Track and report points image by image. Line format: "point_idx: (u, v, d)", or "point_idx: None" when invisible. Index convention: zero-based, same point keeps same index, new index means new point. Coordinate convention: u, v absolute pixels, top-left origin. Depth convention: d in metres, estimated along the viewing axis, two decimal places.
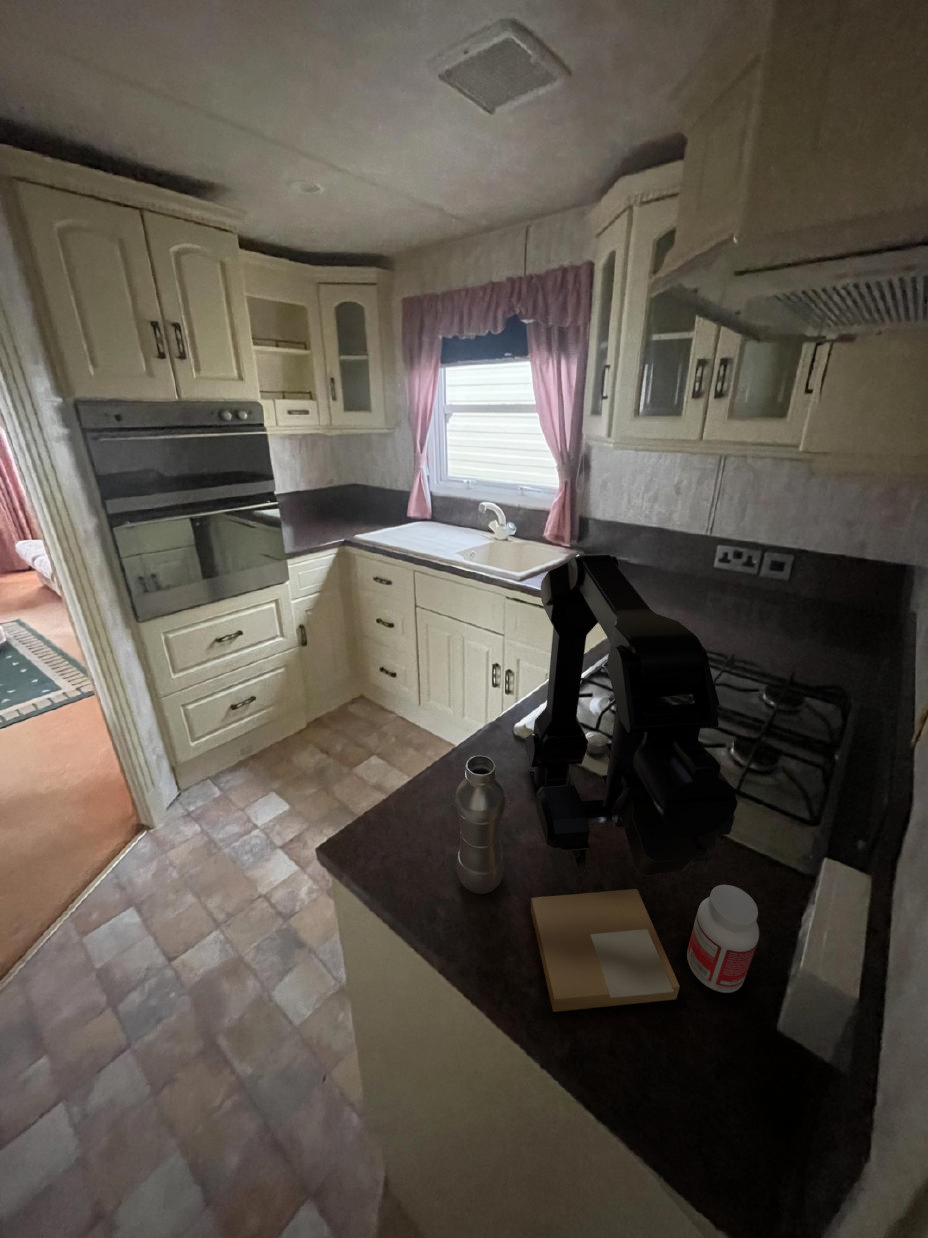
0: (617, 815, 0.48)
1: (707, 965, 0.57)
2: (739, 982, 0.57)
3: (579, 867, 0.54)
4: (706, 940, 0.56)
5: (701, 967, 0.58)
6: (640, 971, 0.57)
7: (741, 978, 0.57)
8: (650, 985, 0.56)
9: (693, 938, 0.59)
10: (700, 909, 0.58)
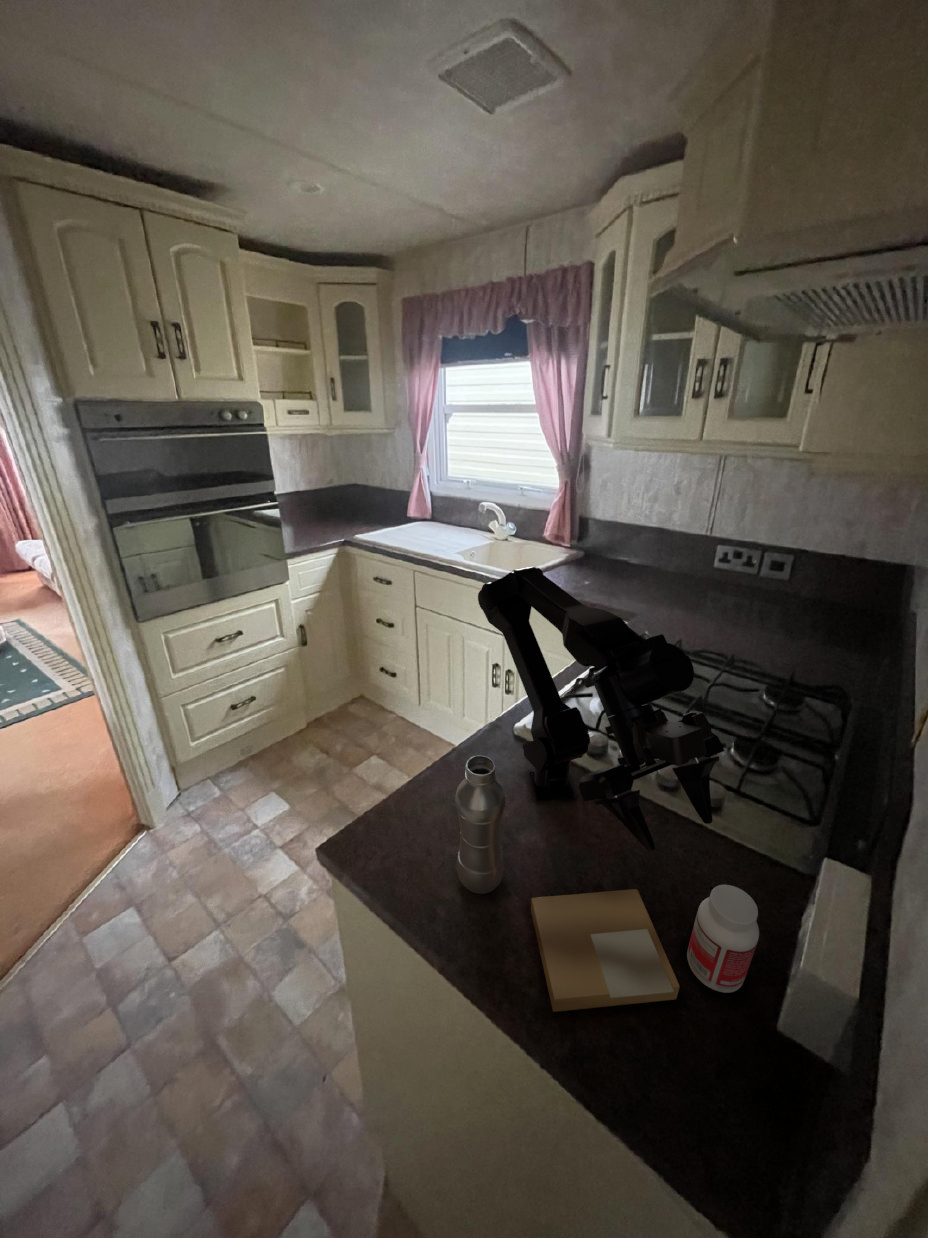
0: (640, 750, 0.60)
1: (707, 965, 0.57)
2: (739, 982, 0.57)
3: (647, 837, 0.59)
4: (706, 939, 0.56)
5: (701, 967, 0.58)
6: (640, 971, 0.57)
7: (741, 978, 0.57)
8: (650, 985, 0.56)
9: (693, 938, 0.59)
10: (700, 909, 0.58)
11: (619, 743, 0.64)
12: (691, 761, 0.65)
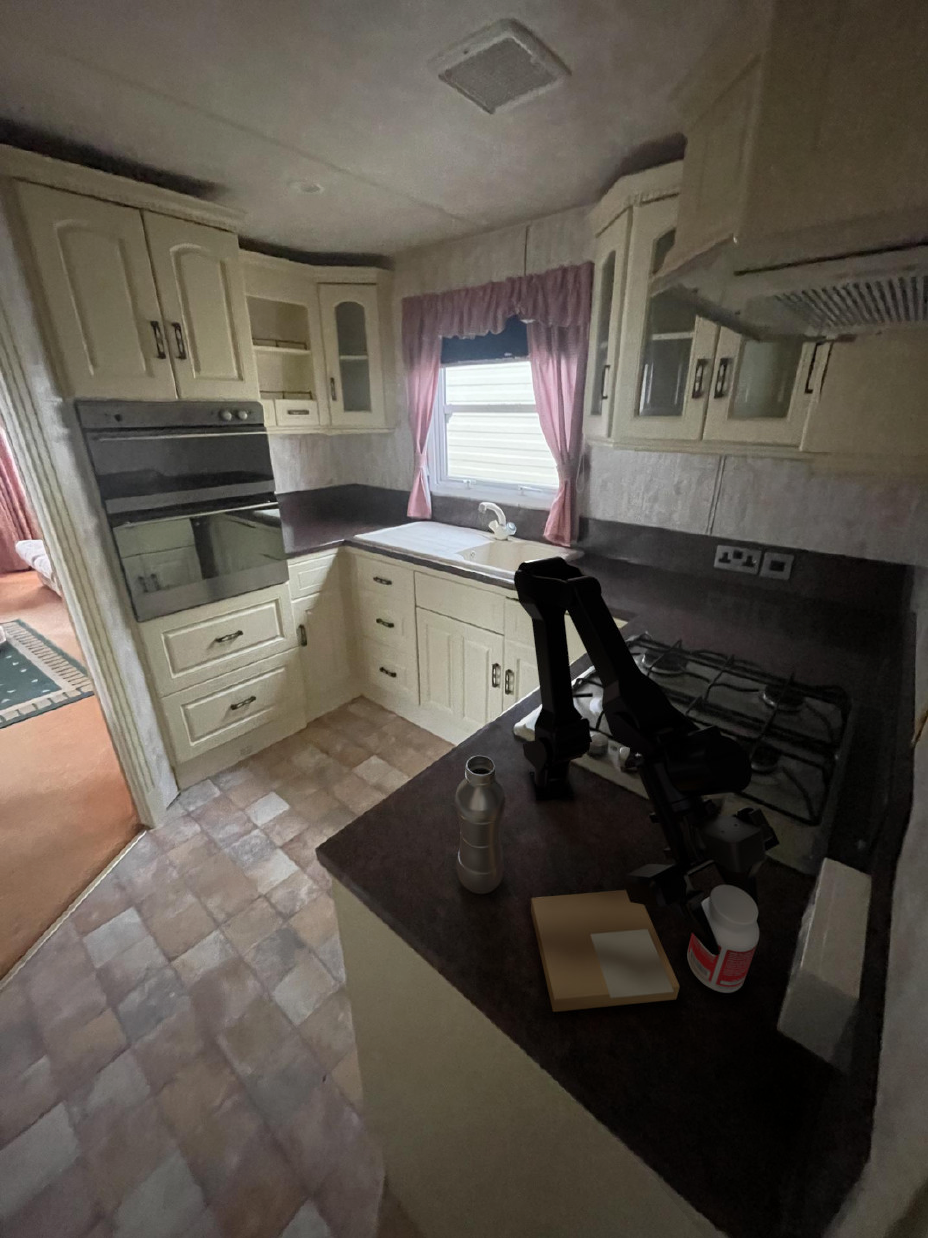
0: (692, 849, 0.56)
1: (708, 965, 0.57)
2: (739, 982, 0.57)
3: (711, 941, 0.55)
4: None
5: (701, 967, 0.58)
6: (640, 971, 0.57)
7: (741, 978, 0.57)
8: (650, 985, 0.56)
9: (693, 938, 0.59)
10: None
11: (666, 836, 0.59)
12: None
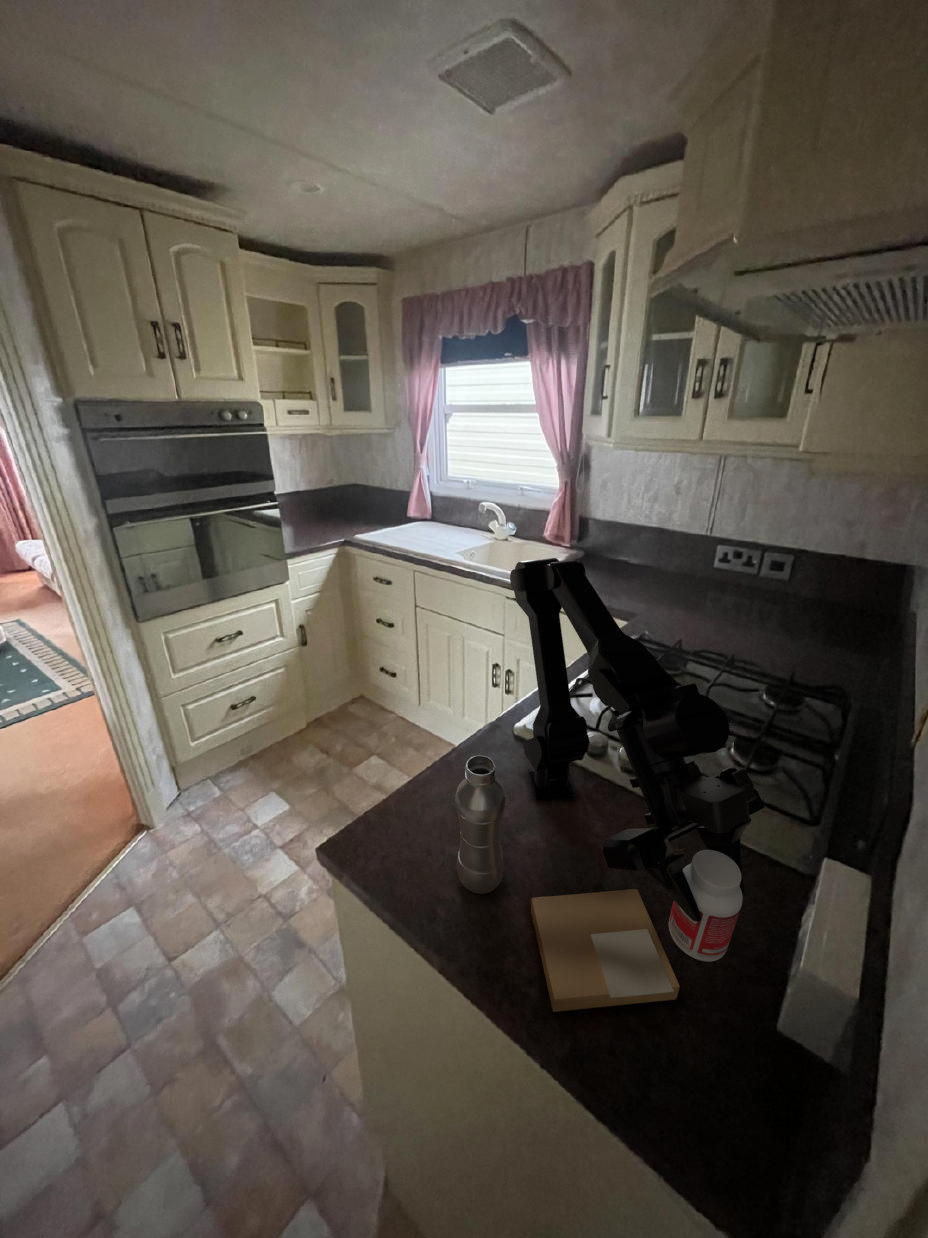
0: (673, 811, 0.53)
1: (689, 933, 0.55)
2: (722, 950, 0.54)
3: (692, 907, 0.52)
4: None
5: (683, 935, 0.55)
6: (640, 971, 0.57)
7: (724, 946, 0.54)
8: (650, 985, 0.56)
9: (674, 906, 0.56)
10: None
11: (647, 800, 0.57)
12: None
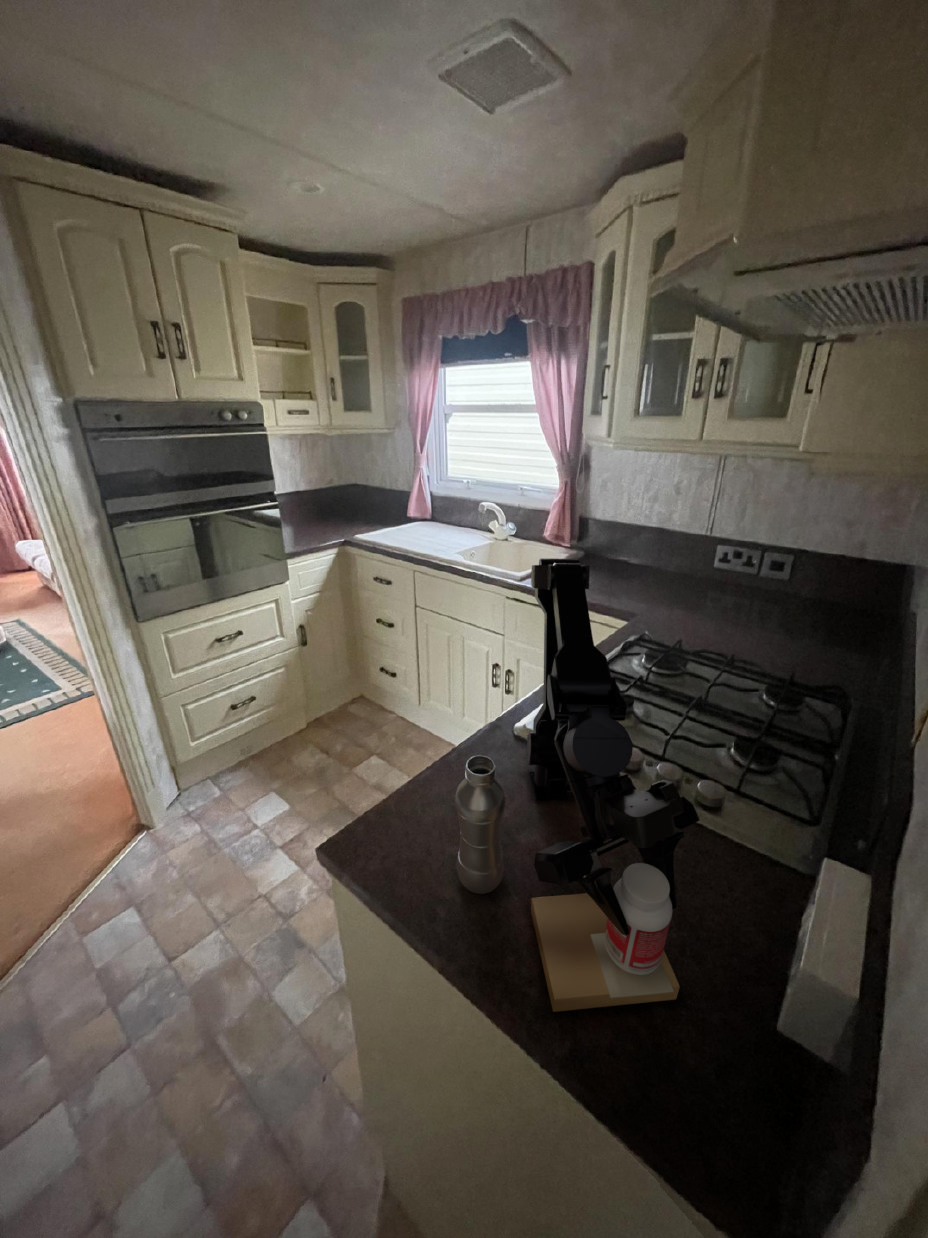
0: (602, 825, 0.53)
1: (620, 947, 0.54)
2: (653, 964, 0.54)
3: (620, 921, 0.52)
4: None
5: (615, 948, 0.55)
6: None
7: (655, 960, 0.54)
8: (650, 985, 0.56)
9: (608, 919, 0.56)
10: (614, 888, 0.55)
11: (581, 812, 0.57)
12: None
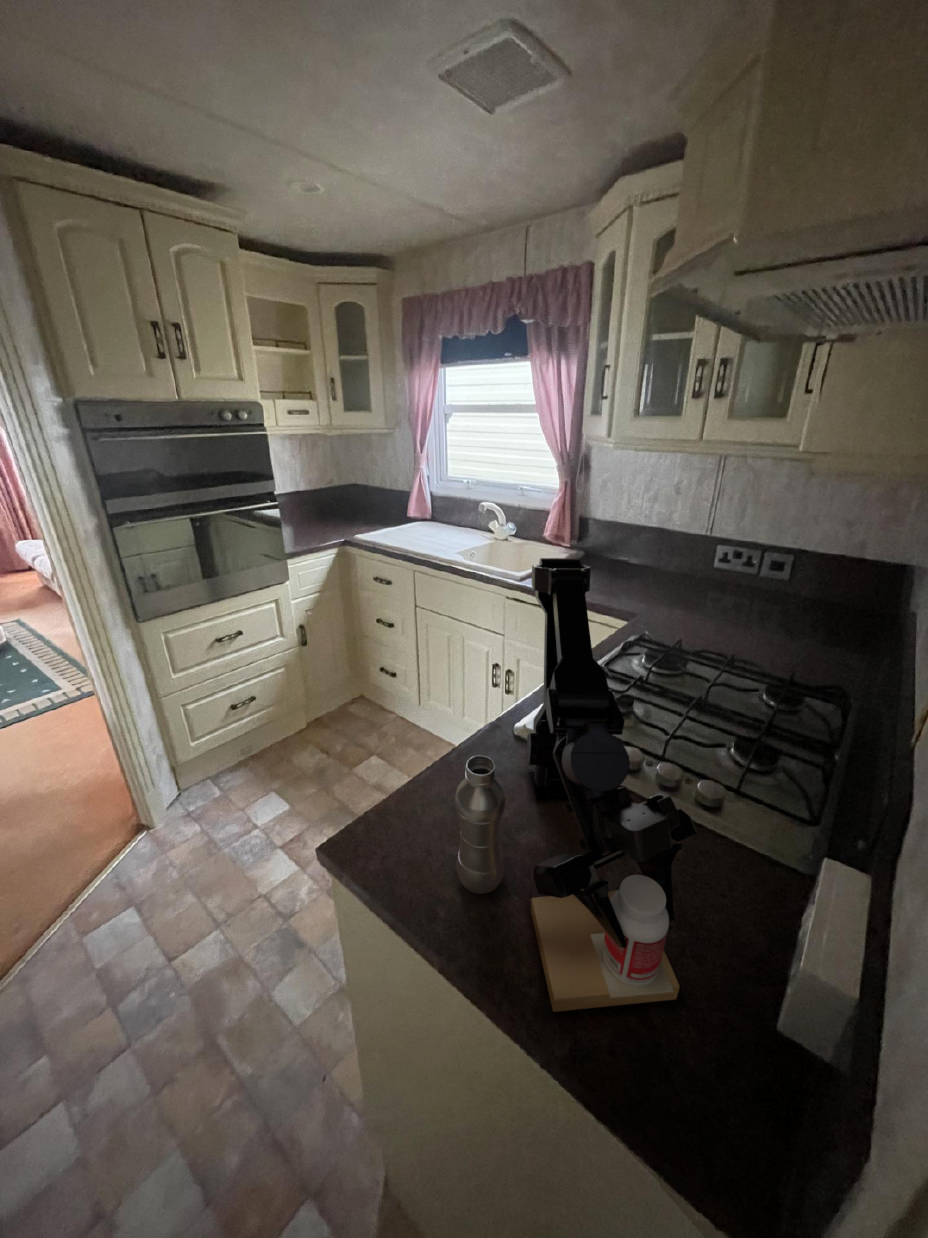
0: (600, 838, 0.54)
1: (618, 958, 0.55)
2: (650, 975, 0.55)
3: (617, 933, 0.53)
4: None
5: (613, 959, 0.56)
6: None
7: (652, 971, 0.55)
8: (650, 985, 0.56)
9: None
10: (611, 900, 0.56)
11: (579, 825, 0.57)
12: None
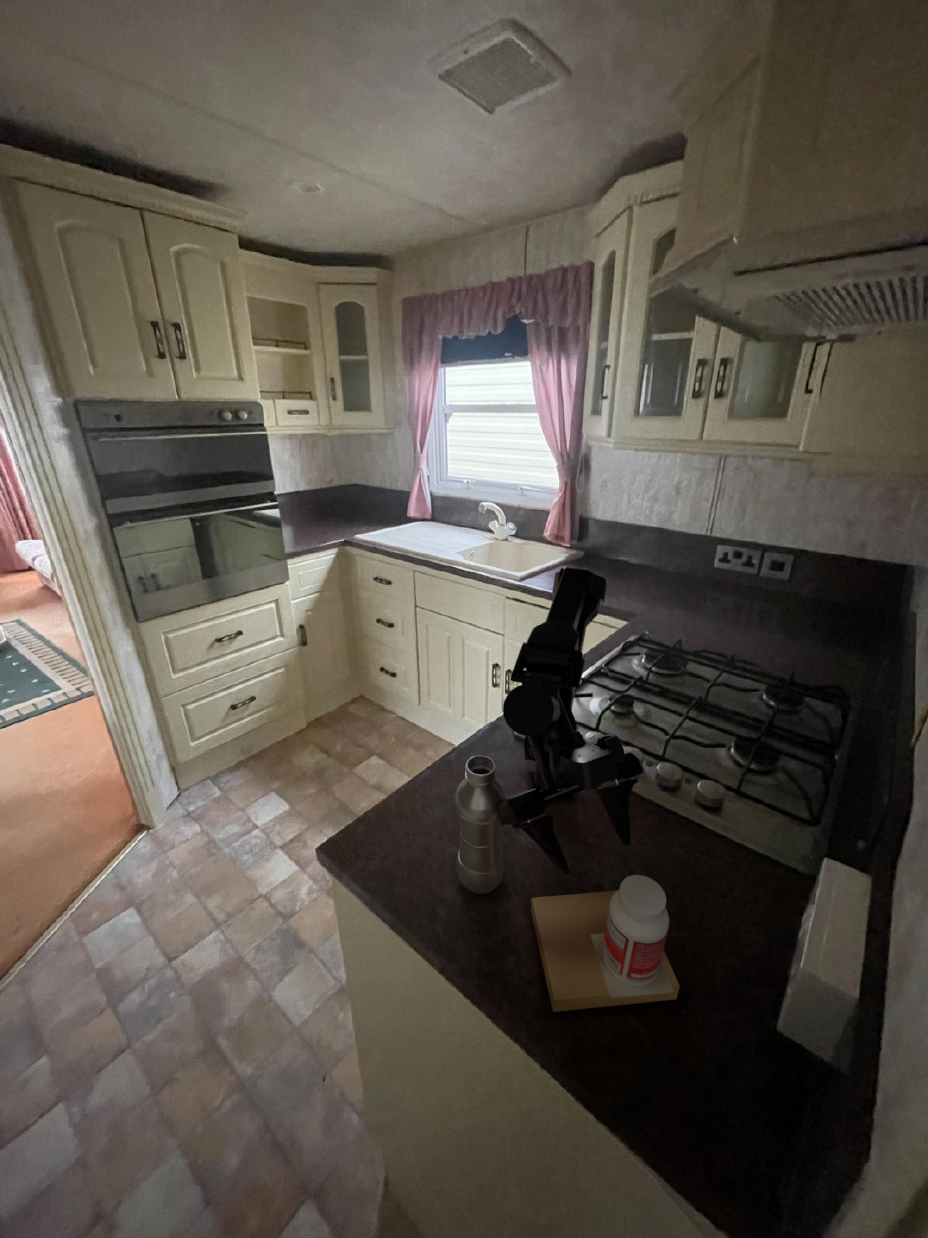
0: (555, 774, 0.60)
1: (618, 958, 0.55)
2: (650, 975, 0.55)
3: (561, 862, 0.59)
4: (615, 931, 0.54)
5: (613, 959, 0.56)
6: None
7: (652, 971, 0.55)
8: (650, 985, 0.56)
9: (606, 930, 0.57)
10: (611, 900, 0.56)
11: (539, 766, 0.64)
12: (612, 783, 0.65)
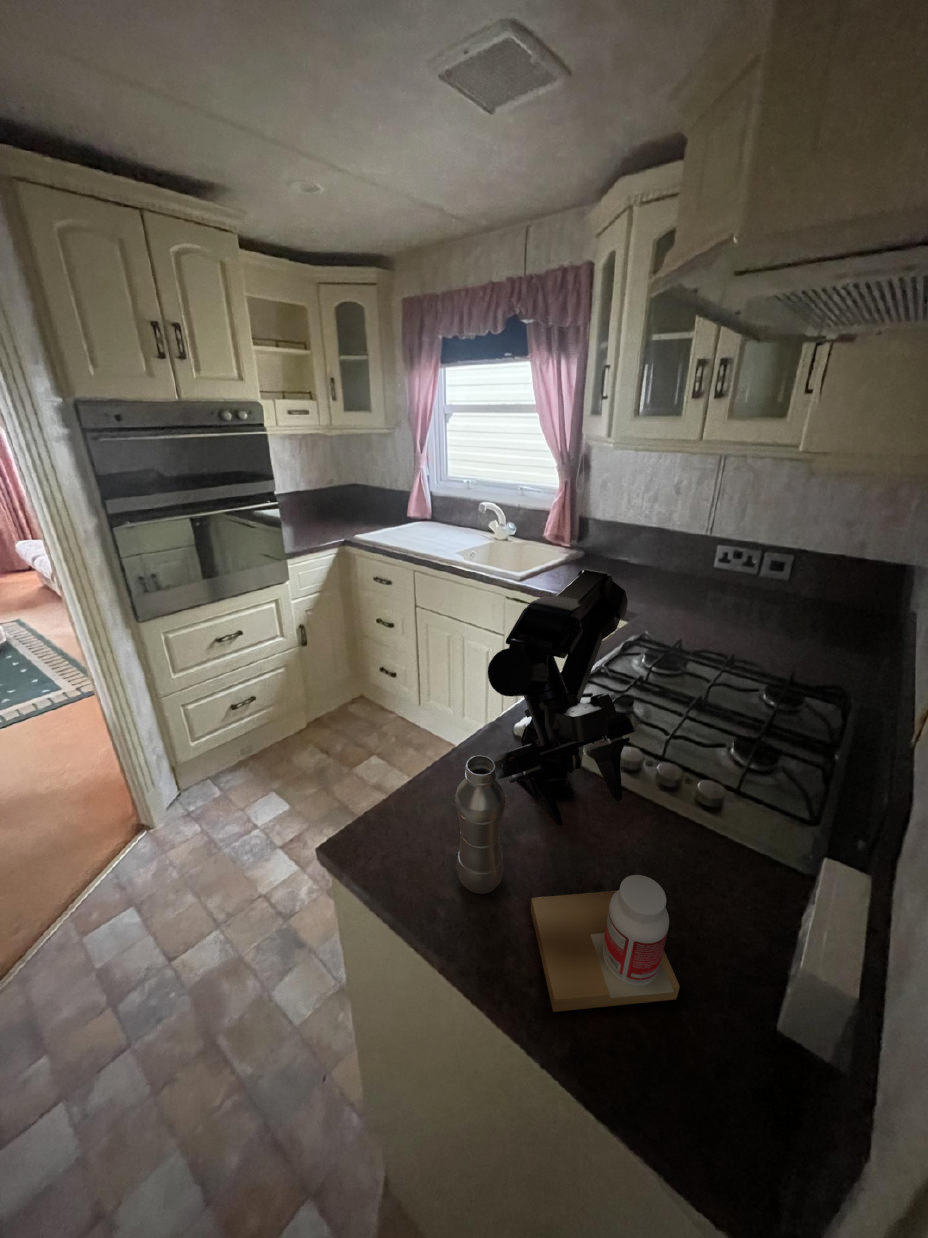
0: (550, 730, 0.63)
1: (618, 958, 0.55)
2: (650, 975, 0.55)
3: (555, 813, 0.62)
4: (615, 931, 0.54)
5: (613, 959, 0.56)
6: None
7: (652, 971, 0.55)
8: (650, 985, 0.56)
9: (606, 930, 0.57)
10: (611, 900, 0.56)
11: (535, 725, 0.67)
12: (604, 742, 0.68)
